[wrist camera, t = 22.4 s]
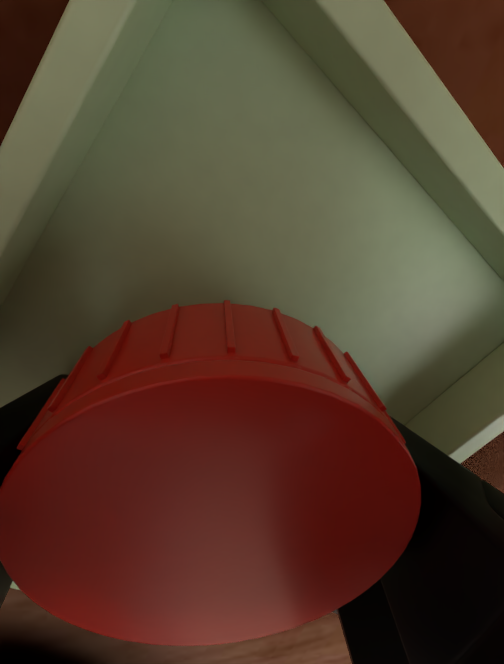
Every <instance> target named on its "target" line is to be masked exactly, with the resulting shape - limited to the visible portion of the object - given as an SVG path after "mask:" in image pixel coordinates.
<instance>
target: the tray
mask: <svg viewBox="0 0 504 664" xmlns="http://www.w3.org/2000/svg"><path fill="white" fill-rule="evenodd" d="M224 300H230V303H231V304H241V305H251V306H255V307H260V308H264V309H269V310H273V308H277V309H279V310H280V312H281V313H282V314H284V315H287V316H290V317H293V318H295V319H297V320H299V321H301V322H303V323H305V324H307V325H309V326H310V327H312V328H314V327H315V326H318V327H319V328H320V329H321V330H322V332H323V334H324V335H325V337H327V338H328V339H329V340H331V341H332V342H333V343H334V344H335V345H336V346H337V347H338V348H339V349H340V350H341V351H342V352H343V353H345V352H346V351H347V352H348V353H349V354H350V355H351V357H352V358H353V360H354V361H355V363H356V364H357V366H358V367H359V369H360V370H361V372H362V373H363V374H364V376H365V377H366V379H367V380H368V382H369V383H370V385H371V386H372V388H373V389H374V391H375V392H376V394H377V395H378V397H379V398H380V399H381V401H382V402H383V404H384V405H385V407H386V408H387V409H386V410H385V411H386V412H387V414H388V415H390V416H391V417H392V418H394V419H395V420H397V421H398V422H400V423H401V424H403V425H404V426H406V427H407V428H409V429H410V430H411V431H413V432H414V433H416V434H417V435H419V436H420V437H422V438H423V439H425V440H426V441H427V442H429V443H430V444H432V445H433V446H435V447H436V448H438V449H439V450H441V451H442V452H443V453H445V454H446V455H448V456H449V457H451V458H452V459H454V460H455V461H457V462H458V463H462V462H463V461H464V460H466V459H467V458H468V457H470V456H471V455H472V454H474V453H475V452H476V451H478V450H479V449H480V448H482V447H483V446H484V445H486V444H487V443H488V442H490V441H491V440H492V439H494V438H495V437H496V436H498V435H499V434H500V433H502V432H503V431H504V168H503V167H502V165H501V164H500V163H499V161H498V160H497V158H496V157H495V156H494V154H493V153H492V151H491V150H490V149H489V147H488V146H487V144H486V143H485V142H484V140H483V139H482V137H481V136H480V135H479V133H478V132H477V130H476V129H475V128H474V126H473V125H472V123H471V122H470V121H469V119H468V118H467V116H466V115H465V114H464V112H463V111H462V109H461V108H460V107H459V105H458V104H457V102H456V101H455V100H454V98H453V97H452V95H451V94H450V93H449V91H448V90H447V88H446V87H445V86H444V84H443V83H442V81H441V80H440V79H439V77H438V76H437V74H436V73H435V72H434V70H433V69H432V67H431V66H430V65H429V63H428V62H427V60H426V59H425V58H424V56H423V55H422V53H421V52H420V51H419V49H418V48H417V46H416V45H415V44H414V42H413V41H412V39H411V38H410V37H409V35H408V34H407V32H406V31H405V30H404V28H403V27H402V25H401V24H400V23H399V21H398V20H397V18H396V17H395V16H394V14H393V13H392V11H391V10H390V9H389V7H388V6H387V4H386V3H385V2H384V0H69V2H68V4H67V7H66V9H65V11H64V13H63V15H62V17H61V19H60V21H59V24H58V26H57V28H56V30H55V32H54V34H53V36H52V38H51V40H50V43H49V45H48V47H47V49H46V51H45V53H44V55H43V57H42V60H41V62H40V64H39V66H38V68H37V70H36V72H35V74H34V76H33V79H32V81H31V83H30V85H29V87H28V89H27V91H26V93H25V96H24V98H23V100H22V102H21V104H20V106H19V108H18V110H17V112H16V115H15V117H14V119H13V121H12V123H11V125H10V127H9V129H8V132H7V134H6V136H5V138H4V140H3V142H2V144H1V146H0V407H2V406H4V405H6V404H8V403H9V402H11V401H13V400H15V399H17V398H18V397H20V396H22V395H24V394H26V393H27V392H29V391H31V390H33V389H35V388H36V387H38V386H40V385H42V384H44V383H45V382H47V381H49V380H51V379H53V378H54V377H56V376H58V375H61V374H67V375H69V374H70V372H71V371H72V369H73V368H74V366H75V365H76V363H77V362H78V360H79V358H80V357H81V355H82V354H83V352H84V351H85V349H86V348H87V347H88V346H91V347H92V348H93V347H95V346H96V345H97V344H99V343H100V342H101V341H102V340H104V339H105V338H106V337H107V336H109V335H110V334H112V333H114V332H115V331H117V330H119V329H121V327H122V325H123V323H124V322H125V321H127V320H130V321H131V322H134V321H136V320H139V319H141V318H143V317H146V316H148V315H151V314H153V313H157V312H161V311H165V310H168V309H171V307H172V305H175V304H178V305H179V307H180V306H189V305H196V304H209V303H224ZM10 588H14V589H18V590H20V589H19V588H18V586H17V585H16V584H15V583H14V581H13V582H12V584H11V586H10Z"/></svg>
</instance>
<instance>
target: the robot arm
mask: <svg viewBox="0 0 504 664" xmlns="http://www.w3.org/2000/svg"><path fill="white" fill-rule="evenodd" d="M68 376H69V375H67V374H61V375H58V376H56V377H54V378H53V379H51V380H49V381H47V382H45V383H44V384H42V385H40V386H38V387H36V388H35V389H33V390H31V391H29V392H27V393H26V394H24V395H22V396H20V397H18V398H17V399H15V400H13V401H11V402H9V403H8V404H6V405H4V406H2V407H0V488H1V485H2V483H3V481H4V478H5V476H6V475H7V473H8V472H9V470H10V469H11V467H12V465H13V464H14V462H15V461H16V459H17V458H18V456H19V455H20V453H21V450H18V449H17V446H18V444H19V443H20V441H21V440H22V438H23V437H24V435H25V434H26V432H27V431H28V429H29V428H30V426H31V425H32V423H33V422H34V420H35V419H36V417H37V416H38V414H39V413H40V411H41V410H42V408H43V407H44V405H45V404H46V402H47V401H48V399H49V398H50V396H51V395H52V393H53V391H54V390H55V388H56V387H57V385H58V384H59V382H60V381H61V379H62V378H64V379H67V377H68ZM389 417H390V418H391V420H392V421H393V423H394V424H395V426H396V427H397V429H398V430H399V432H400V433H401V435H402V436H403V438H404V439H405V442H406V443H405V446H406V447H407V449H408V450H409V452H410V454H411V457H412V459H413V461H414V463H415V465H416V467H417V471H418V476H419V480H420V484H421V508H420V514H419V519H418V523H417V525H416V528H415V531H414V533H413V536H412V538H411V540H410V541H409V543H408V545H407V547H406V549H405V550H404V552H403V553H402V555H401V556H400V557H399V558H398V560H397V561H396V562H395V564H394V565H393V566H392V567H391V568H390V569H389V570H388V571H387V572H386V573H385V574H384V575H383V576H382V577H381V579H379V580H378V581H377V582H376V583H375V584H373V585H372V586H371V587H370V588H369V589H367V590H366V591H365V592H363V593H362V594H360V595H359V596H357V597H356V598H355V599H353V600H352V601H350V602H348V603H347V604H345V605H343V606H341V607H340V608H338V609H336V610H334V611H333V613H336V614H338V616H339V619H340V623H341V626H342V630H343V634H344V637H345V641H346V644H347V648H348V651H349V655H350V659H351V662H352V664H504V494H503V493H502V492H500V491H499V490H497V489H496V488H495V487H493V486H492V485H490V484H489V483H487V482H486V481H484V480H481V478H480V477H478V476H477V475H476V474H474V473H473V472H471V471H470V470H468V469H467V468H465V467H464V466H462V465H461V464H460V463H458V462H457V461H455V460H454V459H452V458H451V457H449V456H448V455H446V454H445V453H443V452H442V451H441V450H439V449H438V448H436V447H435V446H433V445H432V444H430V443H429V442H427V441H426V440H425V439H423V438H422V437H420V436H419V435H417V434H416V433H414V432H413V431H411V430H410V429H409V428H407V427H406V426H404V425H403V424H401V423H400V422H398V421H397V420H395V419H394V418H392V417H391V416H390V415H389ZM12 582H13V580H12V579H11V578H10V577H9V575H8V574H7V572H6V570H5V568H4V566H3V565H2V563H1V561H0V608H1V606H2V604H3V601H4V599H5V597H6V595H7V593H8V590H9V588H10V586H11V584H12Z"/></svg>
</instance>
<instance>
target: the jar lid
mask: <svg viewBox="0 0 504 664" xmlns="http://www.w3.org/2000/svg"><path fill="white" fill-rule="evenodd" d="M386 409H387V408H386V407H385V405H384V404H383V402H382V401H381V399H380V398H379V397H378V395H377V394H376V392H375V391H374V389H373V388H372V386H371V385H370V383H369V382H368V380H367V379H366V377H365V376H364V374H363V373H362V372H361V370H360V369H359V367H358V366H357V364H356V363H355V361H354V360H353V358H352V357H351V355H350V354H349V353H348V352H347V351H346V352H345V353H343V352H342V351H341V350H340V349H339V348H338V347H337V346H336V345H335V344H334V343H333V342H332V341H331V340H329V339H328V338H327V337H325V335H324V334H323V332H322V330H321V329H320V328H319V327H318V326H315V327H314V328H312V327H310V326H309V325H307V324H305V323H303V322H301V321H299V320H297V319H295V318H293V317H290V316H287V315H284V314H282V313H281V312H280V310H279V309H277V308H273V310H269V309H264V308H260V307H255V306H251V305H241V304H231V303H230V300H224V303H209V304H196V305H189V306H180V307H179V305H178V304H175V305H172V307H171V309H168V310H165V311H161V312H157V313H153V314H151V315H148V316H146V317H143V318H141V319H139V320H136V321H134V322H131V321H130V320H127V321H125V322H124V323H123V325H122V327H121V329H119V330H117V331H115V332H114V333H112V334H110V335H109V336H107V337H106V338H105V339H104V340H102V341H101V342H100V343H99V344H97V345H96V346H95V347H93V348H92V347H91V346H88V347H87V348H86V349H85V351H84V352H83V354H82V355H81V357H80V358H79V360H78V362H77V363H76V365H75V366H74V368H73V369H72V371H71V372H70V374H69V376H68V377H67V379H64V378H62V379H61V381H60V382H59V384H58V385H57V387H56V388H55V390H54V391H53V393H52V395H51V396H50V398H49V399H48V401H47V402H46V404H45V405H44V407H43V408H42V410H41V411H40V413H39V414H38V416H37V417H36V419H35V420H34V422H33V423H32V425H31V426H30V428H29V429H28V431H27V432H26V434H25V435H24V437H23V438H22V440H21V441H20V443H19V444H18V446H17V449H18V450H21V453H20V455H19V456H18V458H17V459H16V461H15V462H14V464H13V465H12V467H11V469H10V470H9V472H8V473H7V475H6V476H5V478H4V481H3V483H2V485H1V488H0V561H1V563H2V565H3V566H4V568H5V570H6V572H7V574H8V575H9V577H10V578H11V579H12V580H13V581H14V583H15V584H16V585H17V586H18V588H19V589H20V590H21V591H22V592H23V593H25V594H26V595H27V596H28V597H29V598H30V599H31V600H32V601H33V602H35V603H36V604H38V605H39V606H41V607H42V608H43V609H45V610H46V611H48V612H49V613H51V614H53V615H55V616H57V617H58V618H60V619H62V620H64V621H66V622H68V623H70V624H73V625H75V626H78V627H80V628H83V629H85V630H88V631H91V632H94V633H97V634H101V635H104V636H107V637H112V638H116V639H121V640H126V641H131V642H138V643H145V644H154V645H168V646H201V645H216V644H225V643H233V642H239V641H245V640H250V639H256V638H260V637H264V636H268V635H272V634H276V633H279V632H283V631H286V630H289V629H292V628H295V627H298V626H300V625H303V624H306V623H308V622H311V621H313V620H316V619H318V618H320V617H322V616H324V615H326V614H328V613H330V612H333V611H334V610H336V609H338V608H340V607H341V606H343V605H345V604H347V603H348V602H350V601H352V600H353V599H355V598H356V597H357V596H359V595H360V594H362V593H363V592H365V591H366V590H367V589H369V588H370V587H371V586H372V585H373V584H375V583H376V582H377V581H378V580H379V579H381V577H382V576H383V575H384V574H385V573H386V572H387V571H388V570H389V569H390V568H391V567H392V566H393V565H394V564H395V562H396V561H397V560H398V558H399V557H400V556H401V555H402V553H403V552H404V550H405V549H406V547H407V545H408V543H409V541H410V540H411V538H412V536H413V533H414V531H415V528H416V525H417V523H418V519H419V514H420V508H421V484H420V480H419V476H418V471H417V467H416V465H415V463H414V461H413V459H412V457H411V454H410V452H409V450H408V449H407V447H406V446H405V443H406V442H405V439H404V438H403V436H402V435H401V433H400V432H399V430H398V429H397V427H396V426H395V424H394V423H393V421H392V420H391V418H390V417H389V415H388V414H387V412H386V411H385V410H386Z"/></svg>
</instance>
